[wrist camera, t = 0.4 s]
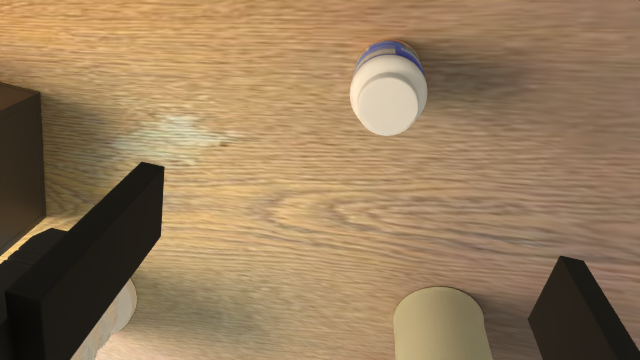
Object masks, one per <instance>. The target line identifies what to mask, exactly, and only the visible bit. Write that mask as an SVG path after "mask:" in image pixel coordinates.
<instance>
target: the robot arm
mask: <svg viewBox="0 0 640 360" xmlns="http://www.w3.org/2000/svg"><path fill="white" fill-rule="evenodd" d="M163 186H164V167H163V166H159V165H154V164H150V163H145V162H141V163H140V164H139V165H138V166H137V167H136V168H134V169H133V170H132V171H131V172H130V173H129V174H128V175H127V176H126V177H125V178H124V179H123V180H122V181H121V182H120V183H119V184H118V185H117V186H115V187H114V188H113V189H112V190H111V191H110V192H109V193H108V194H107V195H106V196H105V197H104V198H103V199H102V200H101V201H100V202H99V203H98V204H96V205H95V206H94V207H93V208H92V209H91V210H90V211H89V212H88V213H87V214H86V215H85V216H84V217H83V218H82V219H81V220H80V221H78V222H77V223H76V224H75V225H74V226H73V227H72V228H71V229H70V230H69V231H68V232H67V231H63V230H59V229H54V228H50V229H48V230H46V231H43V232H41V233H39V234H37V235H34V236H32V237H31V238H30V239H29V240H28V241H26V242H25V243H24V244H23V245H22V246H21V247H20V248H19V250H18V251H17V250H16V251H15V252H14V253H13V254H11V255H10V256H9V257H8V259H7V260H4V261H3V262H2V263H1V264H0V360H70V359H71V358H72V357H73V355H74V354H75V353H76V351H77V350H78V349H79V347H80V346H81V344H82V343H83V342H84V340H85V339H86V338H87V336H88V335H89V334H90V332H91V331H92V329H93V328H94V327H95V325H96V324H97V323H98V321H99V320H100V319H101V317H102V316H103V314H104V313H105V312H106V310H107V309H108V308H109V306H110V305H111V303H112V302H113V301H114V299H115V298H116V297H117V295H118V294H119V293H120V291H121V290H122V288H123V287H124V286H125V284H126V283H127V282H128V280H129V279H130V278H131V276H132V275H133V273H134V272H135V271H136V269H137V268H138V267H139V265H140V264H141V263H142V261H143V260H144V258H145V257H146V256H147V254H148V253H149V252H150V250H151V249H152V248H153V246H154V245H155V243H156V242H157V241H158V239H159V238H160V237H161V223H162V204H163ZM528 321H529V324H530V326H531V329H532V331H533V334H534V337H535V339H536V342H537V345H538V347H539V350H540V353H541V355H542V358H543V360H640V351H639V350H638V348H637V346H636V345H635V343H634V342H633V340H632V338H631V337H630V335H629V334H628V332H627V330H626V329H625V327H624V325H623V324H622V322H621V321H620V319H619V317H618V316H617V314H616V313H615V311H614V309H613V308H612V306H611V304H610V303H609V301H608V300H607V298H606V296H605V295H604V293H603V292H602V290H601V288H600V287H599V285H598V283H597V282H596V280H595V279H594V277H593V275H592V274H591V272H590V270H589V269H588V267H587V266H586V264H585V262H584V261H582V260H578V259H573V258H569V257H565V256H560V257H559V259H558V261H557V263H556V265H555V267H554V269H553V271H552V273H551V275H550V277H549V278H548V280H547V282H546V284H545V286H544V288H543V290H542V292H541V294H540V296H539V298H538V300H537V302H536V304H535V306H534V308H533V310H532V312H531V314H530V316H529V318H528Z"/></svg>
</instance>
